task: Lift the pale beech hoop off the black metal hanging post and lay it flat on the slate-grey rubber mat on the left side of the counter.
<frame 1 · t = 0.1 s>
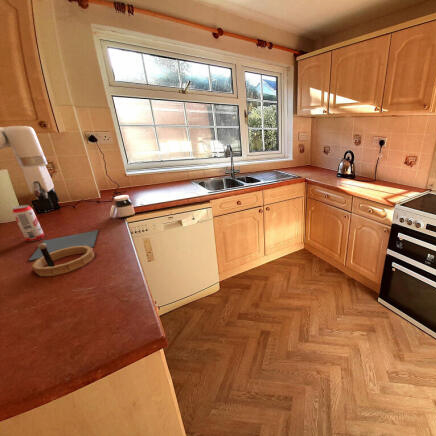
hand: (51, 205, 96), 19 cm above the countertop, tool pointing down, fingers open, 9 cm apart
hoop: (66, 263, 92), on the countertop
beer can: (36, 239, 113), on the countertop
post stand: (53, 270, 88), on the countertop
mat: (67, 244, 107), on the countertop
spread jar: (123, 217, 137), on the countertop
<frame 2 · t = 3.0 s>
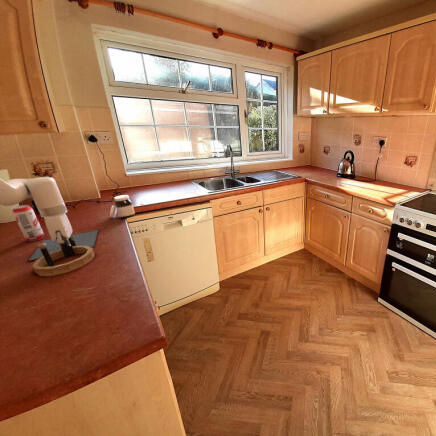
hand: (71, 252, 99), 1 cm above the countertop, tool pointing down, fingers open, 4 cm apart
nothing on the countertop moved.
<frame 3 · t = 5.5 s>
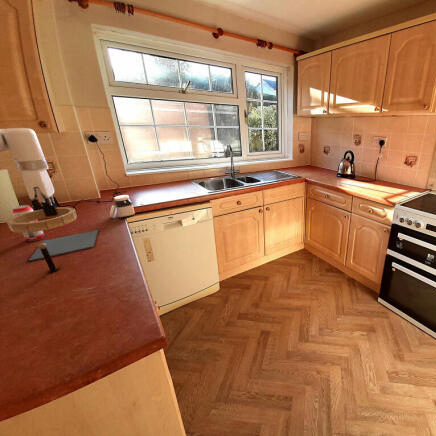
hand: (52, 214, 92), 17 cm above the countertop, tool pointing down, fingers closed on hoop
hoop: (46, 222, 86), point 17 cm above the countertop, touching gripper
everything else where it was.
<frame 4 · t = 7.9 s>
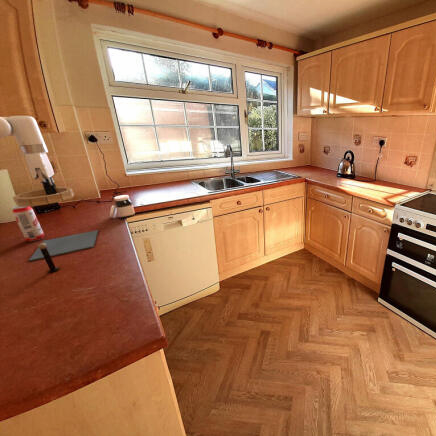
hand: (52, 193, 103), 22 cm above the countertop, tool pointing down, fingers closed on hoop
hoop: (47, 199, 97), point 21 cm above the countertop, touching gripper
everything else where it was.
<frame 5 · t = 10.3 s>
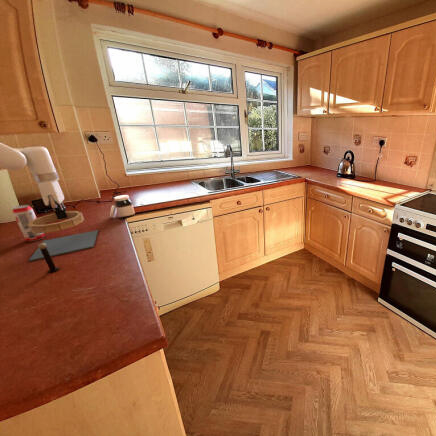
hand: (63, 217, 109), 10 cm above the countertop, tool pointing down, fingers closed on hoop
hoop: (58, 224, 103), point 10 cm above the countertop, touching gripper
everything else where it was.
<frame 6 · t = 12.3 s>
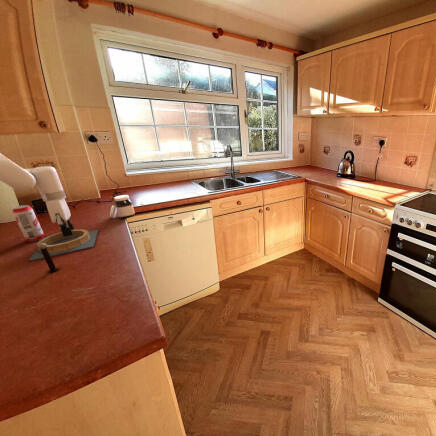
hand: (69, 233, 112), 2 cm above the countertop, tool pointing down, fingers open, 4 cm apart
hoop: (66, 243, 106), point 1 cm above the countertop, touching mat
everything else where it was.
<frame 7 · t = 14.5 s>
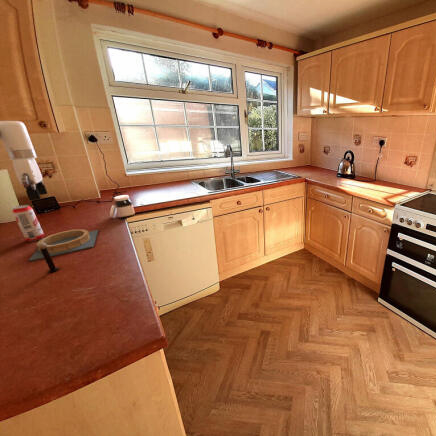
hand: (39, 196, 101), 21 cm above the countertop, tool pointing down, fingers open, 9 cm apart
nothing on the countertop moved.
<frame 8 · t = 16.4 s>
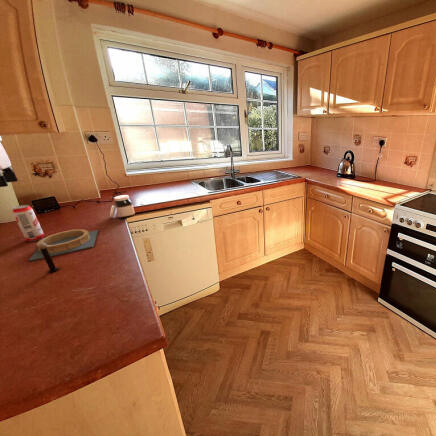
hand: (7, 184, 93), 28 cm above the countertop, tool pointing down, fingers open, 9 cm apart
nothing on the countertop moved.
at the end: hoop inside the target area on the mat (0.4 cm from its centre), point 0.6 cm above the mat's base; hoop tilted 0°; the gripper is holding nothing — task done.
